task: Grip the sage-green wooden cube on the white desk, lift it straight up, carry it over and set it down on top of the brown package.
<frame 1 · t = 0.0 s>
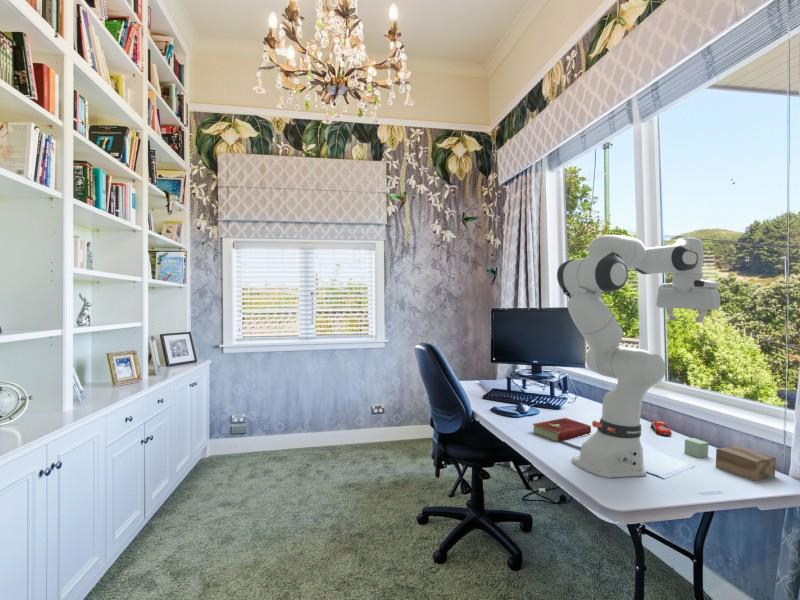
hand: (685, 321, 145), 48 cm above the table, tool pointing down, fingers open, 8 cm apart
hardcover book: (561, 435, 163), on the table
race car: (660, 432, 171), on the table
brown package: (744, 471, 132), on the table
cube: (695, 454, 146), on the table
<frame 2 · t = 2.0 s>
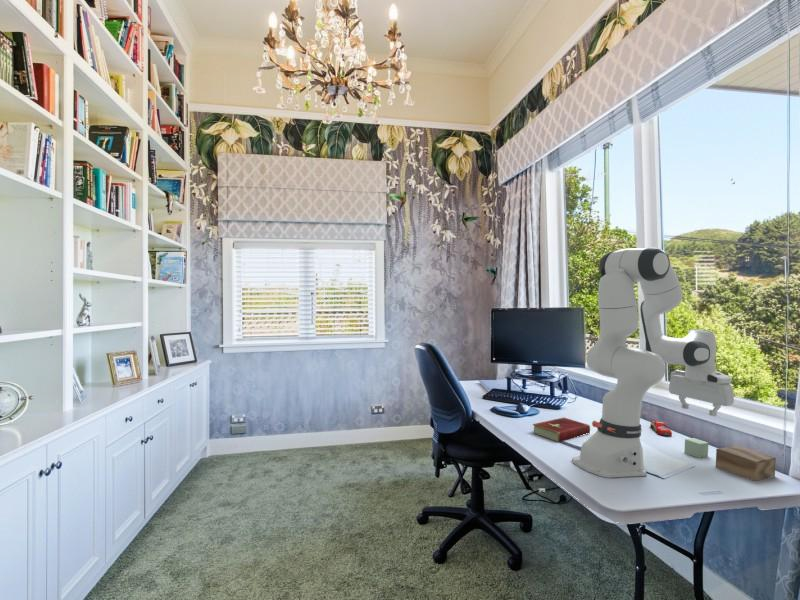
hand: (698, 412, 146), 15 cm above the table, tool pointing down, fingers open, 8 cm apart
nothing on the table moved.
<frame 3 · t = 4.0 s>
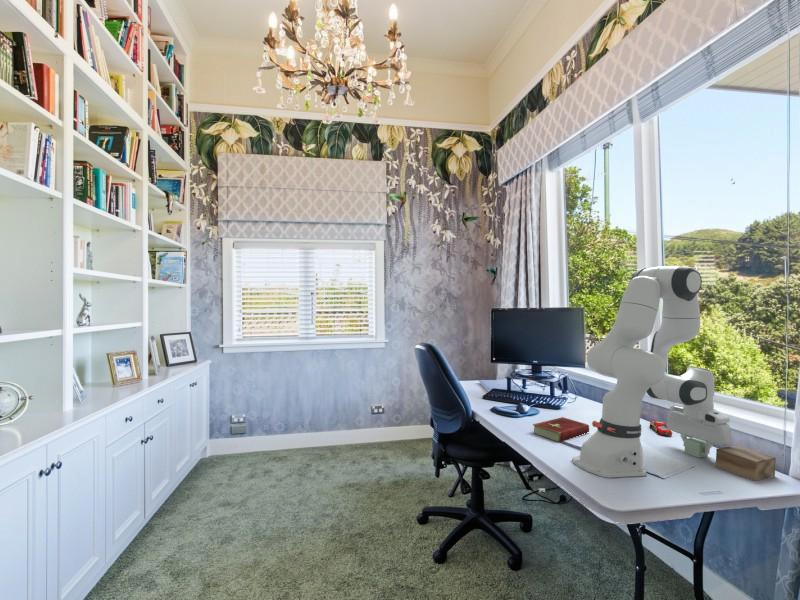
hand: (696, 449, 146), 2 cm above the table, tool pointing down, fingers closed on cube, 5 cm apart
cube: (695, 454, 146), on the table, touching gripper
everything else where it was.
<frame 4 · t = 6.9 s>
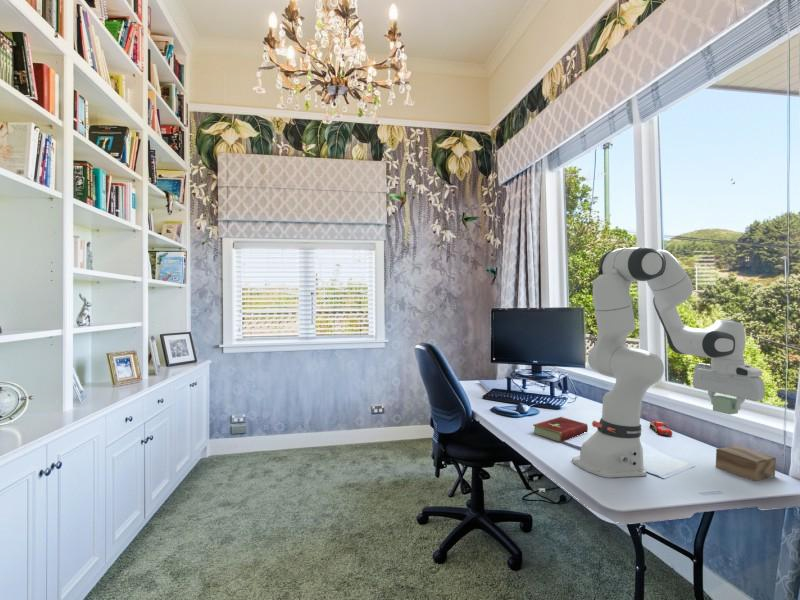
hand: (725, 407, 138), 19 cm above the table, tool pointing down, fingers closed on cube, 5 cm apart
cube: (725, 411, 138), point 18 cm above the table, touching gripper
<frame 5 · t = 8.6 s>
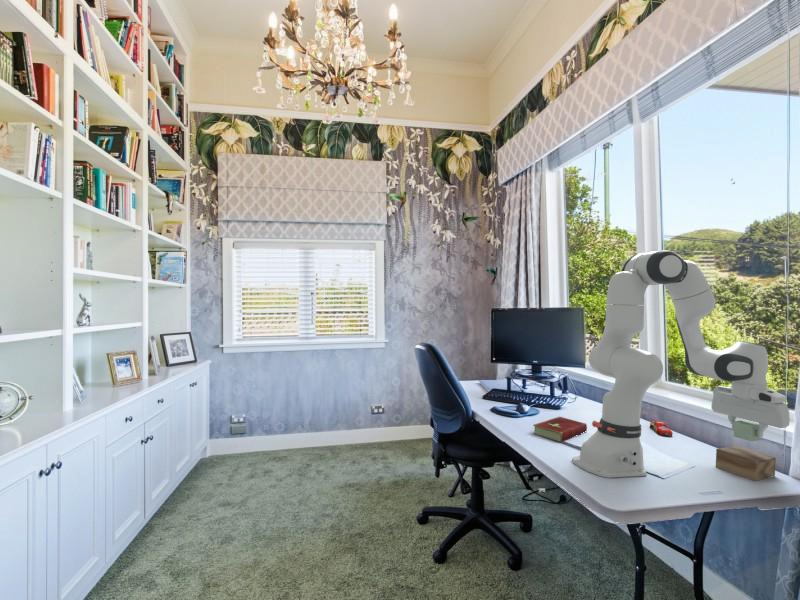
hand: (746, 433, 132), 13 cm above the table, tool pointing down, fingers closed on cube, 5 cm apart
cube: (746, 438, 132), point 11 cm above the table, touching gripper
when the fingers open (9 cm above the table, at t = 10.1 s): cube drops 1 cm, resting on brown package.
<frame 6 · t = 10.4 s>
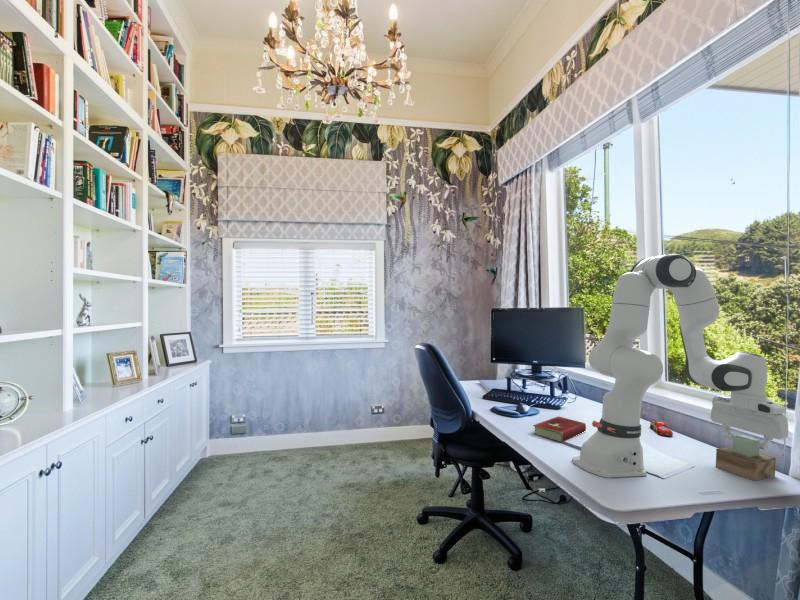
hand: (745, 443, 132), 9 cm above the table, tool pointing down, fingers open, 8 cm apart
cube: (745, 453, 132), point 6 cm above the table, touching brown package
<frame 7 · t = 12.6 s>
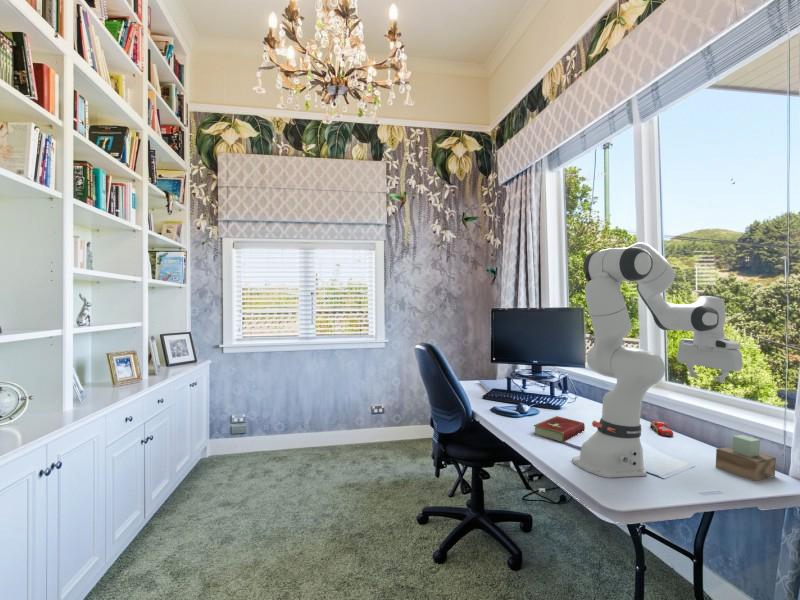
hand: (706, 379, 145), 27 cm above the table, tool pointing down, fingers open, 8 cm apart
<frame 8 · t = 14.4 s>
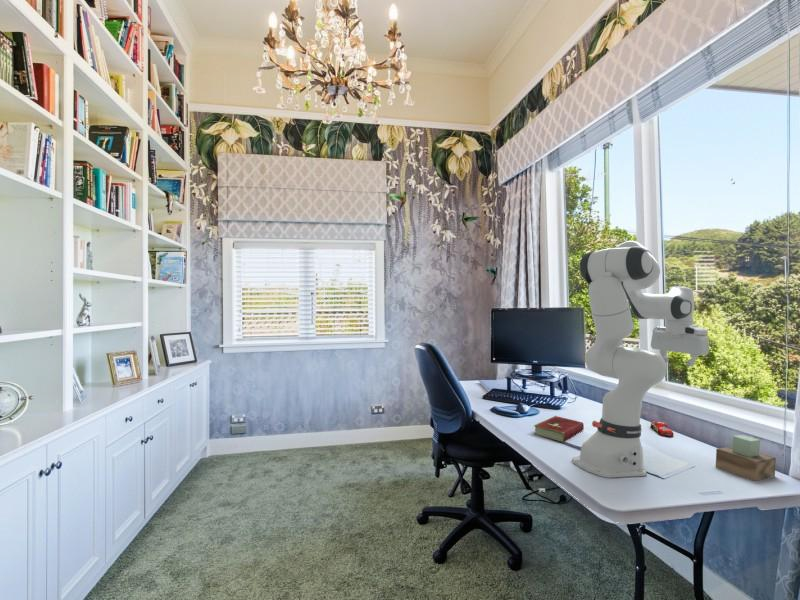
hand: (677, 363, 156), 31 cm above the table, tool pointing down, fingers open, 8 cm apart
at the end: cube inside the target area on the brown package (0.1 cm from its centre), point 6.0 cm above the brown package's base; cube tilted 0°; the gripper is holding nothing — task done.
